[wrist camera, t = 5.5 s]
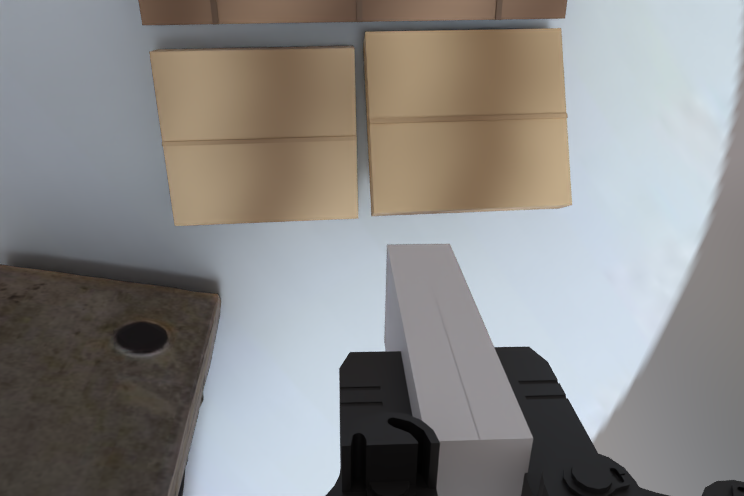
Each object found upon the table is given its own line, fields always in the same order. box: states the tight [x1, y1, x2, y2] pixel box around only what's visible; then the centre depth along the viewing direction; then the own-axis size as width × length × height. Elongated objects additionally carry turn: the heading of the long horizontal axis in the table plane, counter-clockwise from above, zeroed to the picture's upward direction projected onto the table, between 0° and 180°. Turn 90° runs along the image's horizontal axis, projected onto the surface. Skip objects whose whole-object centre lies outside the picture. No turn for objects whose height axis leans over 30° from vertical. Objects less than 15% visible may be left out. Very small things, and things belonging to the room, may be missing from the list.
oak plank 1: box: [149, 46, 358, 226], centre depth 23 cm, size 7×6×1 cm
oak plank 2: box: [363, 28, 572, 216], centre depth 22 cm, size 7×6×1 cm
